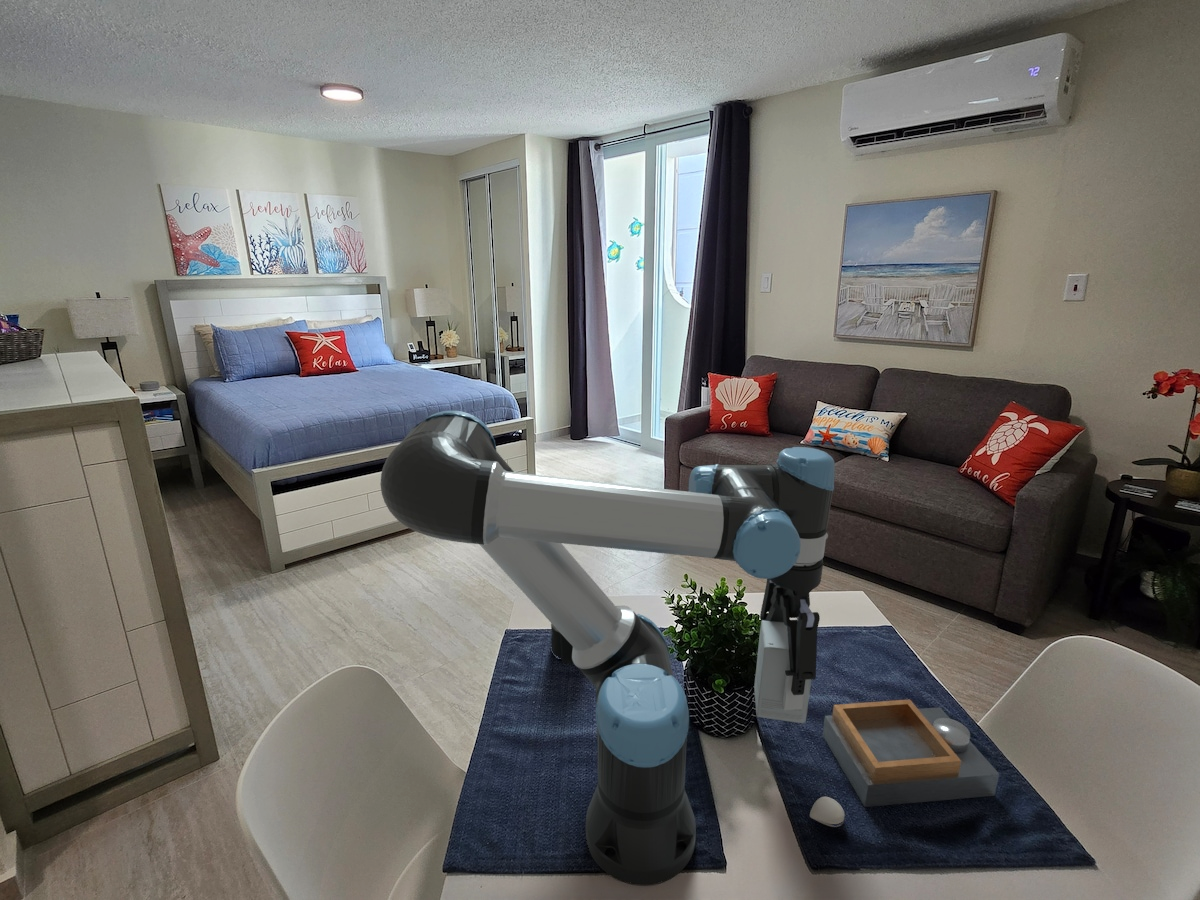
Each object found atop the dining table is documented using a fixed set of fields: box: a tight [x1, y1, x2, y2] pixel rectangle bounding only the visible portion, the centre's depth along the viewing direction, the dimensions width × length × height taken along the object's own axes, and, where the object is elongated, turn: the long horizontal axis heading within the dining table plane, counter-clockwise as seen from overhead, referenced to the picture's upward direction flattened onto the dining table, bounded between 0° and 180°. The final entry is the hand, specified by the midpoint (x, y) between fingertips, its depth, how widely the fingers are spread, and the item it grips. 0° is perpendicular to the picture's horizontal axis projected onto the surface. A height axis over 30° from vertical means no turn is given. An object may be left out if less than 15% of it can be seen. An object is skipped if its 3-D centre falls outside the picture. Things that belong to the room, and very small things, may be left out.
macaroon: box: [809, 796, 846, 828], centre depth 87 cm, size 4×5×2 cm
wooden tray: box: [821, 698, 1000, 808], centre depth 96 cm, size 20×14×6 cm
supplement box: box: [754, 620, 812, 724], centre depth 94 cm, size 7×7×13 cm
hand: (780, 687), depth 95 cm, fingers closed on supplement box, 8 cm apart
